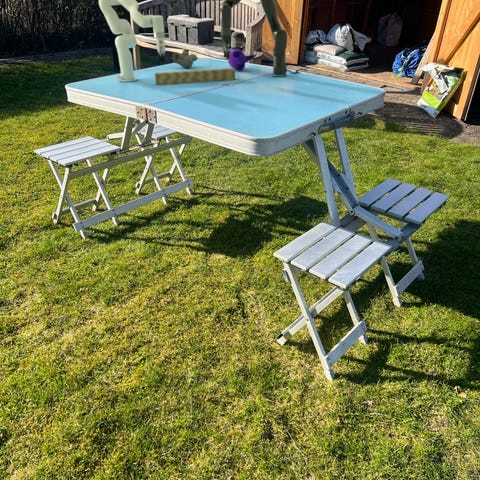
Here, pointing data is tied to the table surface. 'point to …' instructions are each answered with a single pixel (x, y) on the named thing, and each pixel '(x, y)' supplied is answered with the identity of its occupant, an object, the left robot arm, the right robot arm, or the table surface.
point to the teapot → (184, 59)
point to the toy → (239, 59)
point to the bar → (194, 76)
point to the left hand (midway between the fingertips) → (162, 61)
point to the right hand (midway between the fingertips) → (226, 58)
